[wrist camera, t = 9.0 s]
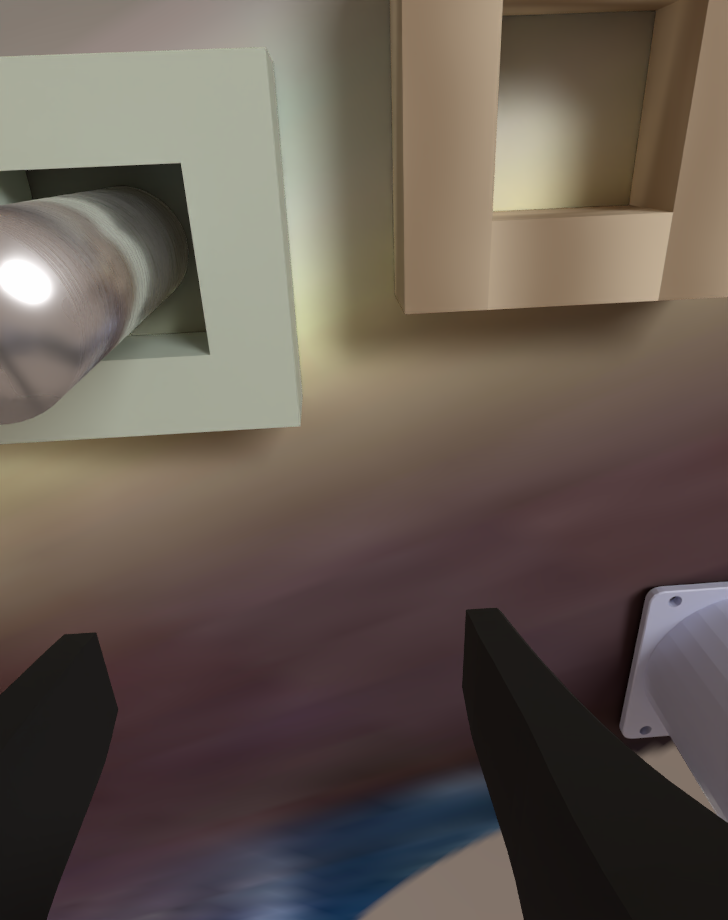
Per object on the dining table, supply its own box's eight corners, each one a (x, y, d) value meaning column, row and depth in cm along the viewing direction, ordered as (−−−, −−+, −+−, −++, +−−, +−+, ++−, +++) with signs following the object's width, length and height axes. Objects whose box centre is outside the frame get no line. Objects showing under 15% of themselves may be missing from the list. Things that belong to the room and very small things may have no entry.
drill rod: (182, 186, 17) (57, 218, 9) (193, 305, 18) (95, 423, 10) (61, 185, 17) (-178, 215, 9) (82, 304, 18) (-106, 425, 10)
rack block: (273, 61, 16) (264, 46, 14) (302, 395, 20) (300, 425, 18) (-91, 75, 15) (-160, 62, 13) (14, 412, 19) (-26, 445, 17)
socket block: (761, -105, 15) (839, -150, 13) (689, 279, 19) (738, 296, 17) (388, -94, 15) (400, -139, 12) (394, 294, 19) (405, 314, 16)
